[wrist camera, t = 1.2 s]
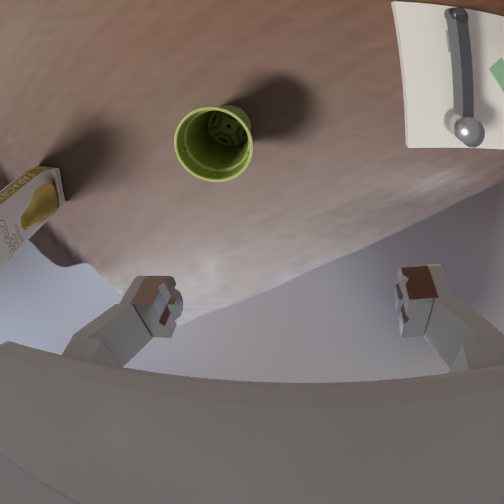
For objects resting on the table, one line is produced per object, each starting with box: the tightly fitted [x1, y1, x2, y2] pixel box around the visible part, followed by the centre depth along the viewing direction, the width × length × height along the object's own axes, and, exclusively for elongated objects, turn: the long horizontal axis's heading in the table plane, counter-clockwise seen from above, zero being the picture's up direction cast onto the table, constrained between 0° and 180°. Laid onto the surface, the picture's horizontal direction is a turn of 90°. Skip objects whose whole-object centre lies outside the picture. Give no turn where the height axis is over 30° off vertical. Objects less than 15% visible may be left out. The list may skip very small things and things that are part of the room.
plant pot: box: [174, 105, 253, 182], centre depth 39 cm, size 9×9×9 cm
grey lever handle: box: [444, 7, 485, 148], centre depth 27 cm, size 17×4×6 cm, turn 12°
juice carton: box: [0, 166, 65, 269], centre depth 43 cm, size 9×8×24 cm
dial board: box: [391, 1, 504, 149], centre depth 30 cm, size 20×18×2 cm
